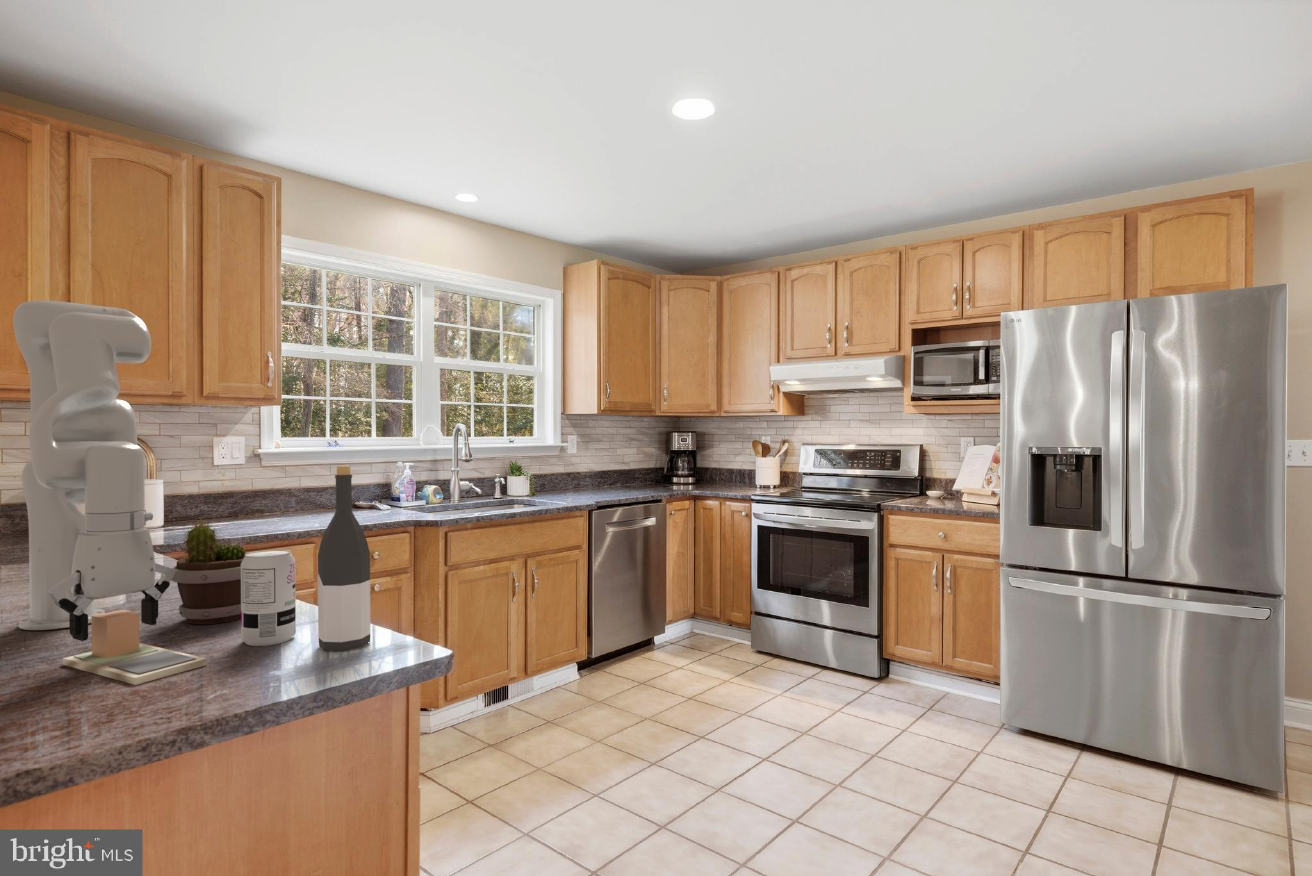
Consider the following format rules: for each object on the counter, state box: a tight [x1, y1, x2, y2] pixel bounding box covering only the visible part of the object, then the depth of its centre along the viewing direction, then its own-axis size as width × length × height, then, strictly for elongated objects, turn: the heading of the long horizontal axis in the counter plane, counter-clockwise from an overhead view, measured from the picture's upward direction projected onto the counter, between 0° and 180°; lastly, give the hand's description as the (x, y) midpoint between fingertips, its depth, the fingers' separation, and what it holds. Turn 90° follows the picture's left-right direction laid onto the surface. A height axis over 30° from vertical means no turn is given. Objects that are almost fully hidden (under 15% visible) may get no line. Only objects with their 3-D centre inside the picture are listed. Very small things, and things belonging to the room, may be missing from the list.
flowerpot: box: [171, 516, 248, 625], centre depth 141 cm, size 14×15×20 cm
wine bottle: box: [317, 465, 371, 652], centre depth 122 cm, size 8×8×30 cm
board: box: [62, 642, 208, 686], centre depth 112 cm, size 20×10×1 cm, turn 62°
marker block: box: [90, 609, 140, 658], centre depth 115 cm, size 4×4×6 cm
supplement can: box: [240, 549, 297, 647], centre depth 125 cm, size 8×8×15 cm
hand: (115, 631), depth 115 cm, fingers open, 9 cm apart
